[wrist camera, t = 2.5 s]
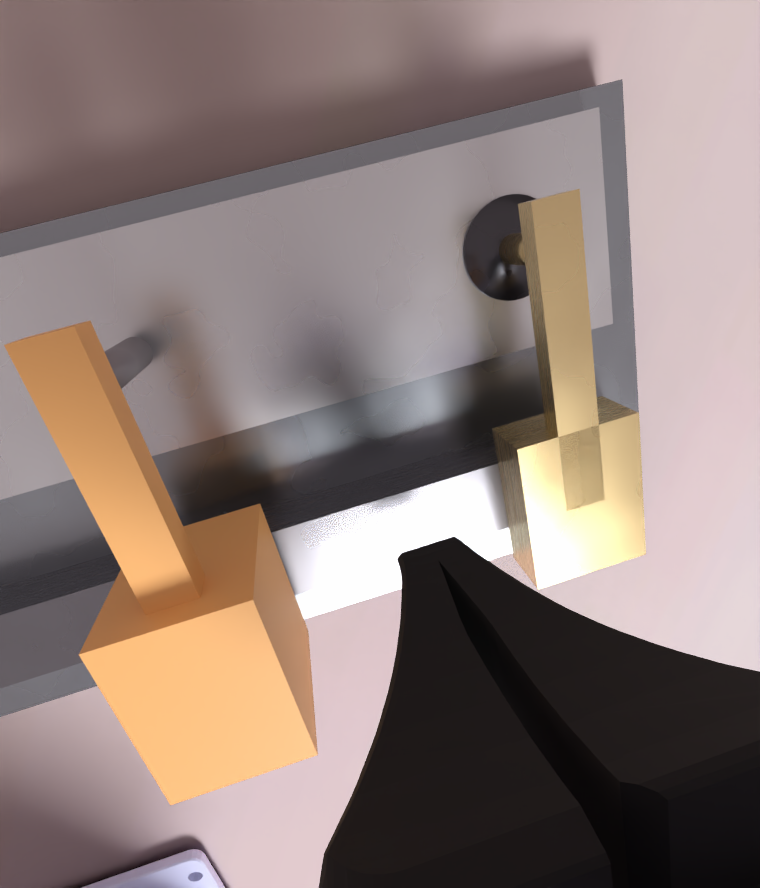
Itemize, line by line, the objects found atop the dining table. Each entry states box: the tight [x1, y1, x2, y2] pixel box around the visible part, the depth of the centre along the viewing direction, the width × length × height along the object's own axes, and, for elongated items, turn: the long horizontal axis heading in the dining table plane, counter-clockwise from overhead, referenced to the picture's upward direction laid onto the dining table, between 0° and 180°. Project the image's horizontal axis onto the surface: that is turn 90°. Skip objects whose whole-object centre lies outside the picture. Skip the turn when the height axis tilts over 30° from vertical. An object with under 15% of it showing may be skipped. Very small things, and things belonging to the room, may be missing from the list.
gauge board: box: [0, 80, 646, 717], centre depth 12 cm, size 12×29×4 cm, turn 104°
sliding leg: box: [4, 321, 318, 805], centre depth 11 cm, size 9×3×4 cm, turn 14°
